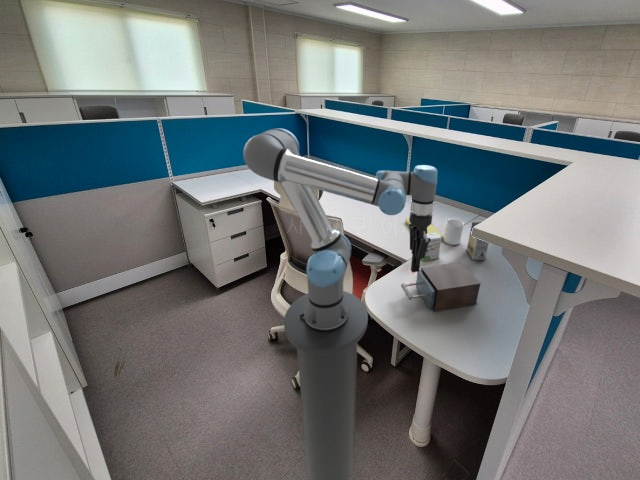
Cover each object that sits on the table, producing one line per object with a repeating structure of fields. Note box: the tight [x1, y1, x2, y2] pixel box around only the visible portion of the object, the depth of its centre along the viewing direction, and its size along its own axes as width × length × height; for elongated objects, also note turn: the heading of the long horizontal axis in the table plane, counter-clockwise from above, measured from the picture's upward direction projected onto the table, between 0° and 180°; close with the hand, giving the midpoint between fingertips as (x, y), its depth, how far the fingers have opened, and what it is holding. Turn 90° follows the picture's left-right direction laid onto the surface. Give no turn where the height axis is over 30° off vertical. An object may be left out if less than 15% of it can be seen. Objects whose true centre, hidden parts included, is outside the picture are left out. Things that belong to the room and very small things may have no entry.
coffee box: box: [466, 221, 490, 261], centre depth 145 cm, size 9×6×16 cm
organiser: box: [420, 261, 481, 312], centre depth 118 cm, size 18×15×10 cm
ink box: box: [421, 233, 442, 262], centre depth 142 cm, size 8×5×12 cm, turn 109°
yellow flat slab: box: [405, 218, 444, 241], centre depth 169 cm, size 12×2×24 cm
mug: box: [443, 218, 465, 246], centre depth 159 cm, size 12×9×11 cm
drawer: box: [400, 269, 437, 309], centre depth 117 cm, size 24×13×8 cm, turn 106°
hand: (414, 270), depth 110 cm, fingers closed
